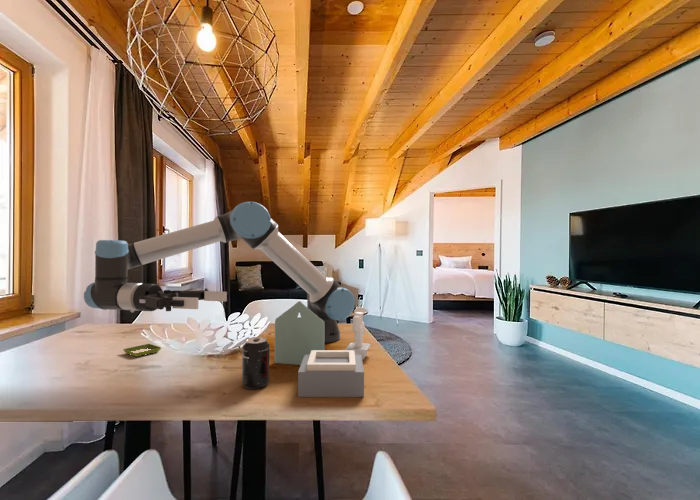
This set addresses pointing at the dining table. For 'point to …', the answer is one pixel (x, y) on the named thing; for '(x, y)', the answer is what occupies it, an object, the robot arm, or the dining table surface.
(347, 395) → the stand
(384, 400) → the dining table surface
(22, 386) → the dining table surface
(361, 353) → the figurine
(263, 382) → the beverage can
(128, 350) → the green shallow square tray
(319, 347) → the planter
